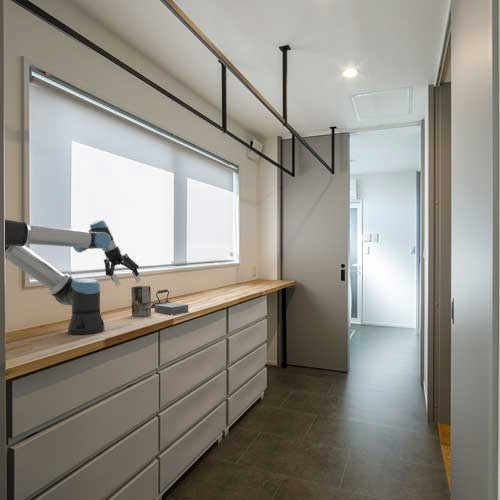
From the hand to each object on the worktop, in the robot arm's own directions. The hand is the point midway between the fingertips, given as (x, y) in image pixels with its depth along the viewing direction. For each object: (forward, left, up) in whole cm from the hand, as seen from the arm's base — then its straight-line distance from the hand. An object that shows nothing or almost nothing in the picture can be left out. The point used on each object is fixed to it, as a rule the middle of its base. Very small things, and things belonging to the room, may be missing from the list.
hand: (128, 283), depth 198 cm
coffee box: (+9, +2, -19) cm, 21 cm away
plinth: (+26, -3, -19) cm, 32 cm away
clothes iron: (+36, +18, -19) cm, 45 cm away
